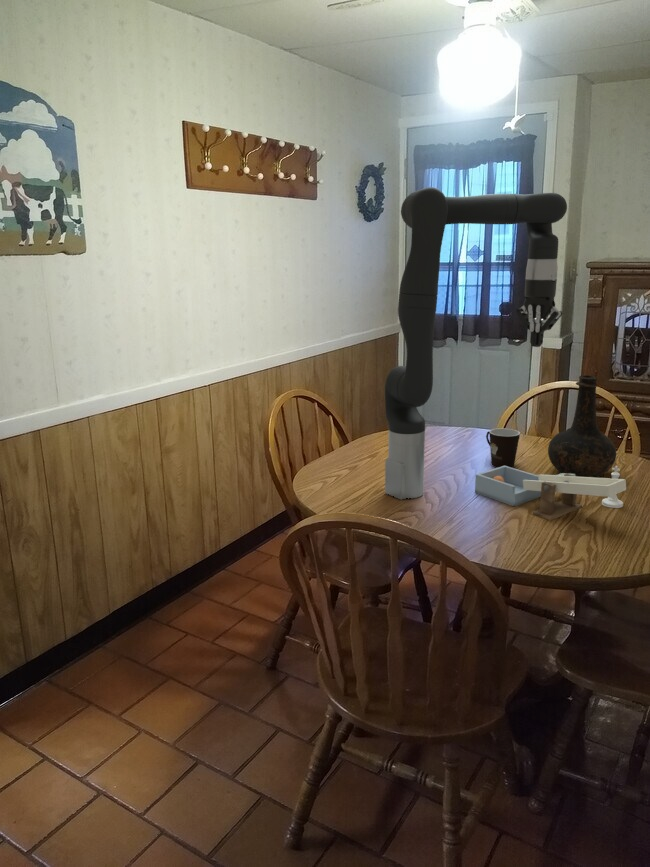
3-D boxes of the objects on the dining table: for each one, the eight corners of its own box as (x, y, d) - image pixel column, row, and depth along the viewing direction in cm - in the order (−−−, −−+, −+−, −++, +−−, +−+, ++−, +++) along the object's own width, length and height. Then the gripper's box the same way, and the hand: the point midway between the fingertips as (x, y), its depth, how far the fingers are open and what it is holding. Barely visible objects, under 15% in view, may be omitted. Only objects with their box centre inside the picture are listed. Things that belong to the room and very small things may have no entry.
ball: (498, 478, 172) (488, 476, 174) (499, 490, 172) (489, 488, 175) (506, 475, 174) (496, 473, 176) (507, 487, 174) (497, 485, 177)
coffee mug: (521, 469, 191) (523, 436, 188) (491, 469, 191) (492, 436, 188) (511, 457, 202) (513, 425, 199) (482, 457, 202) (484, 425, 200)
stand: (582, 507, 163) (585, 476, 161) (550, 520, 155) (552, 488, 153) (564, 501, 167) (566, 471, 164) (532, 514, 159) (534, 482, 157)
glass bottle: (600, 464, 195) (609, 369, 187) (624, 485, 177) (636, 382, 170) (538, 464, 195) (545, 370, 188) (557, 485, 178) (565, 382, 171)
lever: (647, 481, 154) (646, 471, 154) (609, 496, 145) (608, 486, 145) (561, 476, 173) (560, 467, 173) (523, 489, 164) (522, 480, 163)
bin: (514, 506, 164) (515, 487, 163) (474, 492, 174) (475, 474, 172) (543, 495, 171) (544, 477, 169) (503, 482, 180) (504, 465, 179)
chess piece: (605, 499, 168) (609, 461, 165) (625, 503, 165) (630, 465, 162) (598, 505, 164) (602, 466, 161) (619, 509, 161) (623, 470, 158)
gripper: (510, 277, 170) (506, 345, 175) (554, 279, 160) (549, 350, 164) (528, 276, 174) (524, 342, 179) (573, 277, 164) (567, 347, 169)
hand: (536, 346), depth 172 cm, fingers closed
